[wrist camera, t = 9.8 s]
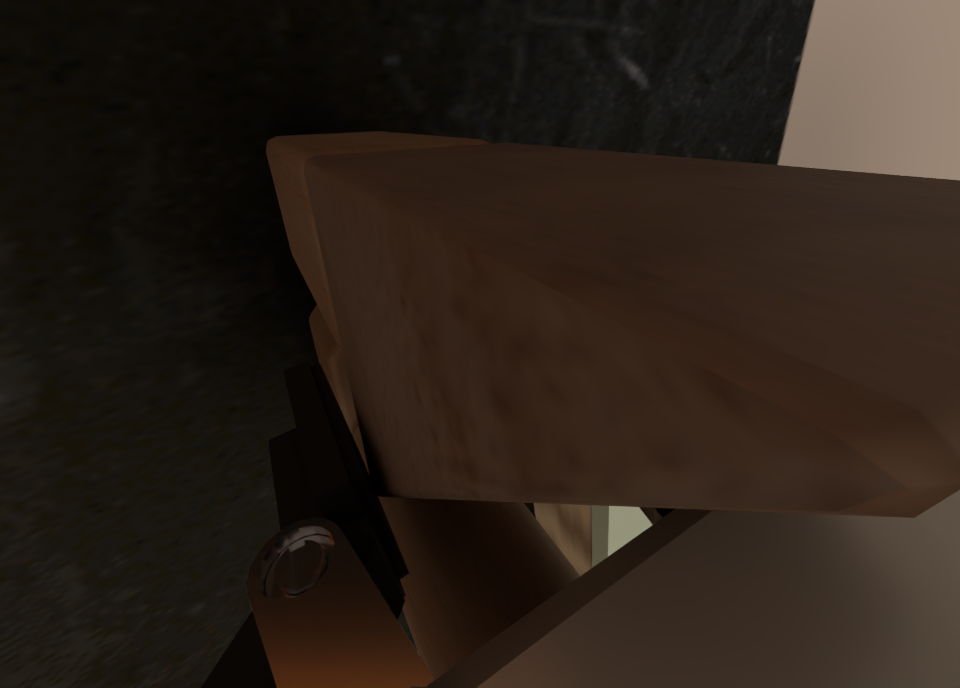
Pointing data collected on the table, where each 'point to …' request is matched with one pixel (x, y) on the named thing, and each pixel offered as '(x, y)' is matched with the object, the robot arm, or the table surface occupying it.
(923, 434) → the wooden pieces
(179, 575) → the table surface
